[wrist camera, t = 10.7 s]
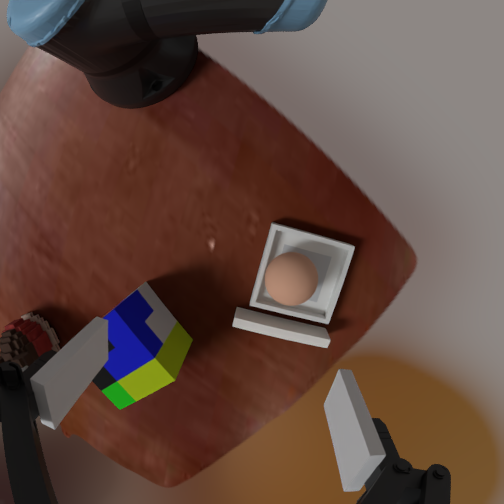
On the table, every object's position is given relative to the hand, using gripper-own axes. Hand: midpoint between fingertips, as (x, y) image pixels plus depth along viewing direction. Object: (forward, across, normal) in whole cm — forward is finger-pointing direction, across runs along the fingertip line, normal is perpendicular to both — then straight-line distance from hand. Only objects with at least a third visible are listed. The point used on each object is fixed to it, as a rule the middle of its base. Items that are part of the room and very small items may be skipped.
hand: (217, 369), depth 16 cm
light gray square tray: (+23, +7, 0) cm, 24 cm away
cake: (+23, -31, -20) cm, 44 cm away
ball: (+22, +7, 0) cm, 23 cm away
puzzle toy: (+23, -12, -12) cm, 29 cm away
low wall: (+23, +6, -7) cm, 25 cm away
